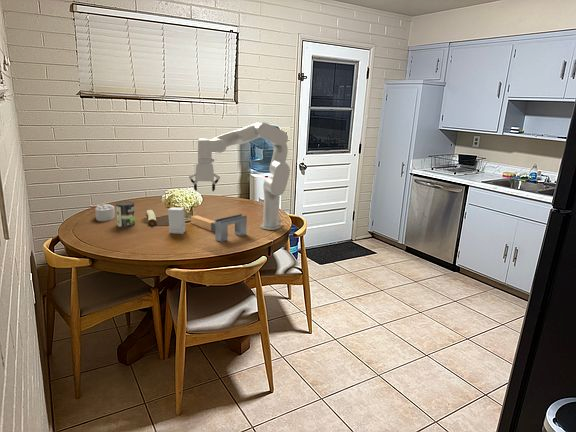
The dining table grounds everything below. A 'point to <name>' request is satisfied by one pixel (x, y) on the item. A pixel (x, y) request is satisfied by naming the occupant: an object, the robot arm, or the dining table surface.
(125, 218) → the coffee can
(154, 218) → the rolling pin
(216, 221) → the grey arch-shaped block
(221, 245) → the dining table surface
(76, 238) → the dining table surface
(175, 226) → the skincare box
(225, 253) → the dining table surface
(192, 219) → the plug
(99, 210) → the lumpy-topped squat cylinder
